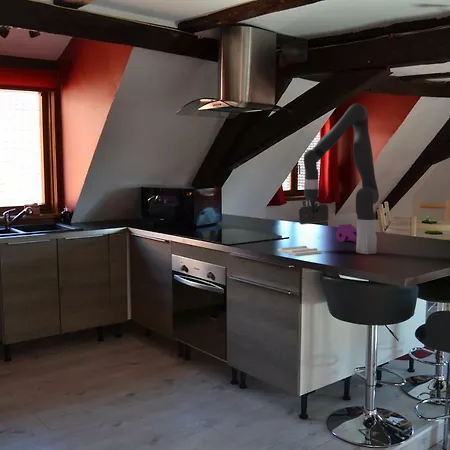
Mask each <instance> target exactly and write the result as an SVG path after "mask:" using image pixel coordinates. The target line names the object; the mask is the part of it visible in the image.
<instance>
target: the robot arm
mask: <svg viewBox="0 0 450 450" xmlns="http://www.w3.org/2000/svg"><path fill="white" fill-rule="evenodd" d="M351 127H352V129H353V144H352V154H353V161H354V165H355V167H356V169H357V172H358V174H359V176H360V179H361V188H360V189H358V191H356V195H355V214H356V217H357V218H356V229H357V242H356V245H355V246H356V247H355V250H356V251H355V252H356V253H357V254H363V255H371V254H377V242H378V239H377V238H378V237H377V236H378V235H377V234H376V228H377V226H376V225H377V223H376V221H377V213H375V212H374V205H375V204H377V203H378V201H379V198H380V197H379V196H380V193H379V188H378V185H377V180H376V175H375V167H374V157H373V149H372V142H371V138H370V133H369V111H368V110H367V108H366V106H364V105H362V104H360V103H353V104H352V105H350V106H349V107H348V108H347V110H346V111H345V112H344V114H343V115H342V116H341V117H340V118H339V120H338V121H337V122H336V124H334V126H332V127H331V129H329V130H328V131H327V133H326V134H325V133H324V135H323V136H322V137H321V138H320V139H319V140H318V141H317V143H316V145H315V146H314V147H313V148H312V149H309V150H306V151H305V153H304V156H303V166H304V183H303V185H304V187H303V188H304V190H303V197H304V198H305V200H303V201H302V206H306V205H310V206H314V205H315V207H314V210H313V214H315V213H318V211H319V208H320V204H322V203H321V202H319V201H318V198H319V193H320V191H319V190H320V189H319V188H320V184H319V183H320V182H319V169H318V167H317V165H318V162H319V161H320V160H321V159H322V158H323V157H324V155H325V154H326V153H327V152H329V151H330V149H332V147H334V146H335V145H336V144H337V143H338V141H339V140H340V139H341V137H343V135H344V134H345V132H346V131H348V129H350V128H351ZM316 209H317V211H316ZM313 220H315V219H314V216H313Z"/></svg>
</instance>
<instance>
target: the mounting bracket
mask: <svg viewBox="0 0 450 450" xmlns="http://www.w3.org/2000/svg"><path fill="white" fill-rule="evenodd" d="M335 237H336V240H337V242H342V243H344V242H346V241H349V240H350V241H351V242H354V243H356V242H357V227H355V226H354V225H352V224H351V223H348V224H338V226H337V229H336V231H335Z"/></svg>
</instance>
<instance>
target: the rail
mask: <svg viewBox="0 0 450 450" xmlns="http://www.w3.org/2000/svg"><path fill="white" fill-rule="evenodd" d="M281 248H282V250H287V249H297V248H308V247H307V245H301V246H288V247H281ZM313 250H318V248H316V247H315V248H311V249H303V250H293V251H292V252H303V251H313Z"/></svg>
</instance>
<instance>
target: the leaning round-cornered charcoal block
mask: <svg viewBox="0 0 450 450" xmlns="http://www.w3.org/2000/svg"><path fill="white" fill-rule="evenodd" d="M314 207H315V205H314V206H310V205H306V206H303V205H302V206H300V207H299V208H298V221H299V222H298V223H299V224H300V225H310V224H317V223H321V222H327V221H329V205H328V204H326V203H321V204H320V208H319V211H318V213H315V214H313V210H314ZM316 211H317V209H316ZM313 216H314V219H315V220H313Z"/></svg>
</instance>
